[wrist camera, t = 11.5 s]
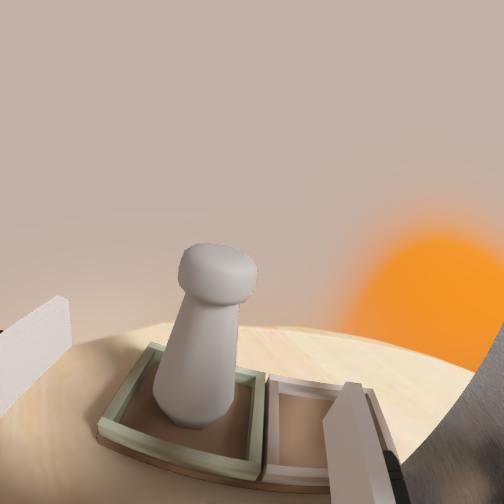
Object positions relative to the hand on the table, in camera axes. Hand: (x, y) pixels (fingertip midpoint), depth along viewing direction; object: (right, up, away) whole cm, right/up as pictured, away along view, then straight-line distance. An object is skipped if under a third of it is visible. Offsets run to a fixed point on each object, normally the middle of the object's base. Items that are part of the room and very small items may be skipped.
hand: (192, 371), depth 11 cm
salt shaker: (-2, -7, +8) cm, 11 cm away
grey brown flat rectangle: (+3, -9, +8) cm, 12 cm away
